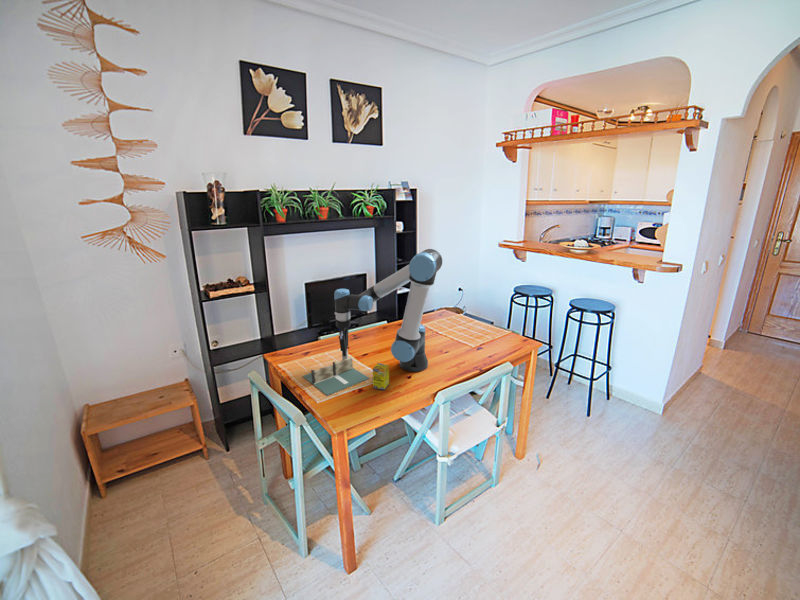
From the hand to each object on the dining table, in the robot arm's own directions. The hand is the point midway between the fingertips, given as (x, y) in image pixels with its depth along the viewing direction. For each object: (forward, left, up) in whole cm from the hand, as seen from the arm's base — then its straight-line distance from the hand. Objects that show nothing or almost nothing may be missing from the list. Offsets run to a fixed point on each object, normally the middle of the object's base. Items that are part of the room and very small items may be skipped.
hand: (345, 360), depth 198 cm
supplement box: (-29, -1, -4) cm, 29 cm away
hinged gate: (-5, +5, -3) cm, 7 cm away
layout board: (-7, +10, -3) cm, 13 cm away
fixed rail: (-5, +16, -3) cm, 17 cm away
